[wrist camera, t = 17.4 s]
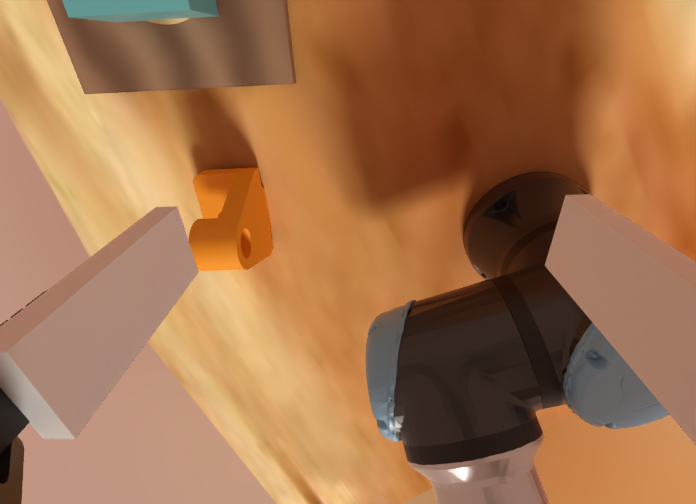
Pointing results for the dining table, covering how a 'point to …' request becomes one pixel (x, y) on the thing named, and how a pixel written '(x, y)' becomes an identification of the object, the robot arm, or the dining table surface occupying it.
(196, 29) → the post base
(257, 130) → the dining table surface
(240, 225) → the bracket
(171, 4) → the collar
